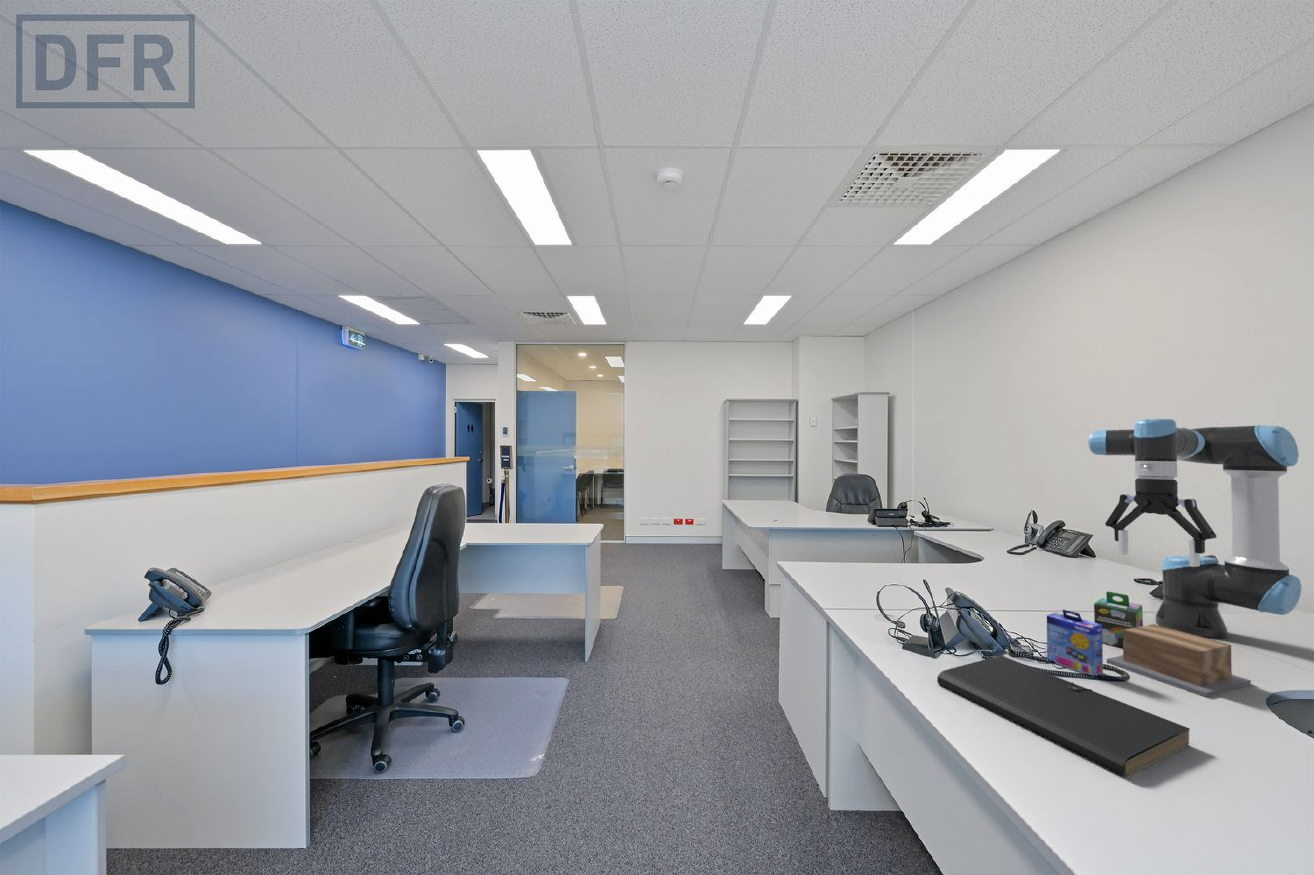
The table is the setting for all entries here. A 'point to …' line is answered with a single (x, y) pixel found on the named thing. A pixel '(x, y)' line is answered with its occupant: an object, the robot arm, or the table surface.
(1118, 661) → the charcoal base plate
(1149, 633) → the walnut base brick
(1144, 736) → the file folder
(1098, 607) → the chalk box
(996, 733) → the table surface
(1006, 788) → the table surface
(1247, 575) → the robot arm
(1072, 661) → the ink cartridge box
